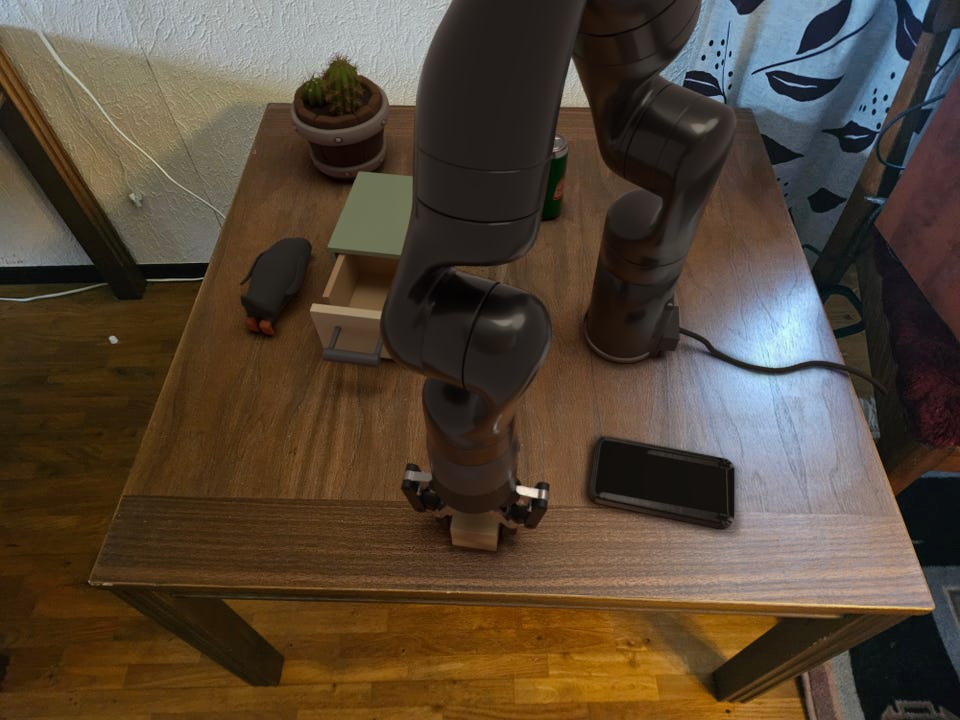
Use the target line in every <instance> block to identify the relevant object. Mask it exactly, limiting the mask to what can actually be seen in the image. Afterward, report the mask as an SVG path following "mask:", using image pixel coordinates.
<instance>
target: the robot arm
mask: <svg viewBox="0 0 960 720" xmlns="http://www.w3.org/2000/svg"><path fill="white" fill-rule="evenodd" d="M702 3H703V0H451V2H450V4H449V5H448V8H447V9H446V11H445V13H444V15H443V17H442V19H441V20H440V23H439V24H438V26H437V28H436V30H435V32H434V34H433V37H432V39H431V41H430V44H429V46H428V48H427V52H426V55H425V57H424V59H423V63H422V66H421V70H420V74H419V79H418V83H417V89H416V94H415V106H414V115H413V116H414V117H413V148H412V149H413V150H412V176H413V188H412V209H411V215H410V220H409V224H408V228H407V233H406V237H405V240H404V244H403V248H402V252H401V255H400V259H399V263H398V266H397V269H396V272H395V275H394V278H393V280H392V283H391V286H390V288H389V291H388V294H387V296H386V299H385V302H384V305H383V309H382V313H381V317H380V334H381V338H382V341H383V344H384V346H385V349H386V351H387V352H388V354H389V355H390V357H391V358H392V360H393V362H394V363H395V364H397V365H398V366H399V367H401V368H403V369H405V370H407V371H410V372H412V373H415V374H417V375H420V376H423V377H425V380H424V383H423V386H422V390H421V406H422V407H421V408H422V413H423V419H424V423H425V429H426V434H425V436H426V437H425V445H426V452H427V453H426V454H427V458H428V464H429V469H430V472H427V471H426V470H421V468H420V466H419V465H418V464H416V463H413V462H408V463H406V465H405V469H404V473H403V477H402V482H401V485H400V490H401V492H402V493H403V495H404V496H405V497H406V499H407V501H408V503H409V504H410V506H411V507H412V509H413V510H414V511H415V512H417V513H419V514H422V513H424V514H425V513H426V512H427V511H431V512H432V513H431V515H432V516H433V517H434V520H435V523H436V524H437V525H440V526H441V530H445V531H446V530H447V531H449V530H450V527H451V521H452V516H453V513H455V512H456V511H459V512H463V513H467V514H481V513H487V514H488V515H489V516H490V517H491V518H492V519H493V520H494V521H495V522H496V523H499V522H500V523H502V539H505V540H510V536H516V535H517V533H518V528H519V527H518V526H519V525H523V528H525V529H528V530H535V529H537V527H538V525H539V524H540V522H541V521H542V520H543V518H544V516H545V514H546V513H547V511H548V505H549V498H550V497H549V496H550V486H551V484H550V483H548V482H546V481H538V482H537V483H536V484H535V486H534V485H531V486H526V485H522V482H521V480H520V479H519V478H518V477H517V475H518V463H519V462H518V460H519V453H520V450H521V445H520V443H521V442H520V437H519V429H518V426H517V425H518V411H519V405H520V402H521V399H522V398H523V396H524V395H525V394H526V392H527V391H528V390H529V388H530V387H531V385H532V384H533V383H534V381H535V380H536V378H537V376H538V375H539V374H540V371H541V369H542V367H543V366H544V364H545V362H546V359H547V357H548V355H549V351H550V348H551V344H552V339H553V325H552V320H551V317H550V313H549V312H548V309H547V308H546V306H545V305H544V303H543V302H542V300H540V299H539V297H538V296H537V295H535V294H534V293H532V292H530V291H529V290H526V289H524V288H521V287H519V286H515V285H513V284H509V283H506V282H501V281H498V280H496V279H491V278H489V277H485V276H481V275H478V274H475V273H472V272H468V271H465V270H462V269H459V268H456V267H471V268H472V267H474V268H487V267H498V266H503V265H508V264H512V263H514V262H516V261H518V260H520V259H521V258H523V257H524V256H526V255H527V254H528V253H529V252H530V251H531V250H532V248H533V246H534V245H535V243H536V241H537V238H538V235H539V231H540V227H541V224H542V220H543V219H542V213H543V207H544V201H545V195H546V189H547V183H548V177H549V171H550V165H551V159H552V152H553V147H554V141H555V134H556V133H557V127H558V120H559V116H560V110H561V105H562V102H563V101H562V100H563V96H564V90H565V85H566V80H567V77H568V72H569V69H570V64H571V61H572V63H573V65H574V67H575V71H576V73H577V76H578V79H579V82H580V84H581V87H582V90H583V92H584V95H585V98H586V100H587V103H588V106H589V111H590V114H591V119H592V124H593V129H594V135H595V140H596V143H597V148H598V150H599V153H600V156H601V159H602V161H603V163H604V164H605V166H606V167H607V169H609V170H610V171H611V172H612V173H613V174H614V175H616V176H617V177H619V178H621V179H622V180H625V181H627V182H629V183H631V184H633V185H635V186H637V187H639V188H634V189H632V190H629V191H626V192H624V193H622V194H621V195H619V196H618V197H616V198H615V199H614V200H613V201H612V203H611V204H610V206H609V207H608V209H607V212H606V215H605V219H604V224H603V230H602V234H601V241H600V244H599V251H598V257H597V261H596V266H595V272H594V278H593V283H592V288H591V293H590V294H591V295H590V299H589V304H588V307H587V309H586V312H585V314H584V317H583V324H584V327H583V336H584V339H585V341H586V344H587V345H588V347H589V348H590V349H591V350H592V352H594V353H595V354H596V355H598V356H599V357H601V358H603V359H605V360H607V361H610V362H612V363H618V364H632V363H637V362H641V361H643V360H644V359H646V358H648V357H653V358H655V357H658V355H659V351H667V352H672V353H673V352H674V353H675V351H676V349H677V347H678V345H679V342H680V339H681V337H680V336H681V335H683V336H686V337H689V338H691V339H693V340H696V341H698V342H699V343H701V344H702V345H704V346H705V347H706V349H707V351H709V352H710V353H711V354H712V355H713V356H715V357H717V358H718V359H721V360H723V361H725V362H726V363H729V364H732V365H734V366H736V367H739V368H741V369H746V370H748V371H749V370H750V371H753V372H759V373H764V374H765V373H766V374H773V375H776V374H777V375H778V374H788V373H792V372H796V371H799V370H802V369H807V368H812V367H824V368H831V369H836V370H840V371H843V372H846V371H847V372H846V373H849V374H852V375H855V376H857V377H859V378H861V379H863V380H865V381H867V382H868V383H869V384H870V385H872V386H873V387H875V389H877V391H879V393H880V394H881V395H883V396H884V397H888V396H889V395H890V394H889V391H888V389H886V387H885V386H884V385H883V384H882V383H881V382H880V381H879V380H878V379H876V378H875V377H873V376H871V375H870V374H868V373H867V372H864V371H862V370H860V369H858V368H854V367H852V366H849V365H845V364H841V363H837V362H833V361H827V360H807V361H803V362H799V363H796V364H793V365H789V366H784V367H768V366H761V365H757V364H752V363H748V362H745V361H741V360H738V359H736V358H734V357H732V356H729V355H727V354H725V353H724V352H722V351H720V350H717V349H716V348H715V347H714V346H713V344H712V343H711V342H710V341H709V340H708V339H707V338H705V337H704V336H702V335H700V334H698V333H696V332H694V331H691V330H688V329H686V328H684V327H681V326H680V305H675V291H676V288H677V286H678V283H679V280H680V277H681V275H682V272H683V269H684V265H685V263H686V260H687V257H688V254H689V251H690V248H691V245H692V243H693V240H694V238H695V235H696V233H697V231H698V228H699V226H700V224H701V221H702V219H703V217H704V214H705V213H706V210H707V207H708V204H709V201H710V198H711V196H712V193H713V191H714V190H715V189H714V188H715V186H716V185H717V182H718V180H719V177H720V174H721V173H722V170H723V168H724V166H725V163H726V161H727V159H728V157H729V155H730V151H731V149H732V146H733V142H734V141H735V140H734V139H735V137H736V132H737V127H738V126H737V124H738V123H737V121H738V120H737V114H736V111H735V110H734V109H733V107H731V106H729V105H728V104H726V103H723V102H722V101H719V100H717V99H714V98H712V97H709V96H707V95H704V94H702V93H699V92H697V91H694V90H692V89H690V88H687V87H685V86H682V85H680V84H677V83H675V82H672V81H671V80H668V79H667V78H665V77H663V76H662V75H661V73H663V71H664V70H666V68H668V67H669V66H670V64H672V63H673V62H674V61H675V59H677V57H678V56H679V55H680V54H681V52H682V51H683V50H684V48H685V47H686V46H687V44H688V42H689V41H690V39H691V37H692V35H693V33H694V32H695V29H696V27H697V24H698V21H699V19H700V16H701V11H702ZM680 334H681V335H680ZM520 500H522V501H523V503H524V504H523V505H521V502H520Z"/></svg>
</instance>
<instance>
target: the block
mask: <svg viewBox="0 0 960 720" xmlns="http://www.w3.org/2000/svg"><path fill="white" fill-rule="evenodd" d="M500 528H501V522H499V523H496V522H495V521H494V520H493V519H492V518H491V517H490V516H489V515H488V514H487V513H481V514H467V513H463V512H459V511H456V512H455V513H453V514H452V517H451V522H450V527H449V530H450V531H449V532H450V537H451V542H452V545H453V546H458V547H464V548H465V547H466V548H472V549H478V550H483V551H484V550H485V551H492V552H497V550H498V549H497V548H498V542H499V535H500Z"/></svg>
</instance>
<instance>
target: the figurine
mask: <svg viewBox="0 0 960 720" xmlns="http://www.w3.org/2000/svg"><path fill="white" fill-rule="evenodd" d="M312 252H313V246H312V243H311V242H310V240H309V239H307V238H305V237H299V236H298V237H297V236H296V237H285V238H282V239H279V240H278V241H276V242H275V243H273V244H272V245H271V246H270V247H269V248H268V249H266V250H264V251H262V252H260V253H259V254H258V255H257V256H256V258H255V259H254V261H253V263H252V265H251V266H250V269H249V271H248V272H247V275H246V276H245V277H244V278H243V279H242V280H241V282H240V283H239V285H240V286H243V285H245V284H246V283H247V282H248V281H249V280H250V281H249V285H248V287H247V291H246V294H241V295H240V297H239V298H240V304H241V305H242V307H243V308H244V310H245V312H246V313H245V314H246V315H245V319H244V324H245V326H246V327H247V328H248V329H249V330H250V331H253V332H256V333H259V332H260V331H262V332H263V333H264V334H266V335H270V336H274V335H275V330H274V329H273V328H272V327H273V326H272V324H273V323H274V322H275V321H276V320H277V318H278V316H279V314H280V313H281V310H283V308H284V307H285V306H286V304H287V303H288V302H289V301H290V300H291V298H292V297H293V296H294V295H295V294H296V293H297V292H299V290H300V289H301V287H302V285H303V283H304V279H305V273H306V270H307V268H308V265H309V262H310V260H311V256H312ZM259 321H260V322H259ZM258 322H259V324H258Z"/></svg>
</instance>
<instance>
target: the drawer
mask: <svg viewBox="0 0 960 720" xmlns="http://www.w3.org/2000/svg"><path fill="white" fill-rule="evenodd" d="M398 263H399V259H393V258H383V257H374V256H364V255H355V254H345V253H340V254H339V256H338V259H337V261H336V264H335V266H334V268H333V269H332V271H331V274H330V276H329V278H328V281H327V283H326V286H325V289H324V291H323V293H322V296H321V297H322V300H323V303H324V304H321V303H315V302H313V303H312V304H311V307H310V310H309V313H310V317H311V318H312V321H313V324H314V326H315V329H316V332H317V334H318V337H319V341H320V343H321V345H322V349H323V350H322V353H321V359H322V361H324V362H331V363H339V364H347V365H354V366H364V367H369V368H370V367H371V368H379V367H380V365H381V363H382V362H381V360H382V359H390V360H391V359H392V358H391V357H390V355H389V354H388V352H387V351H386V349H385V346H384V344H383V341H382V338H381V334H380V317H381V313H382V309H383V305H384V302H385V299H386V296H387V294H388V291H389V288H390V286H391V283H392V280H393V278H394V275H395V272H396V269H397V266H398ZM392 360H393V359H392Z"/></svg>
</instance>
